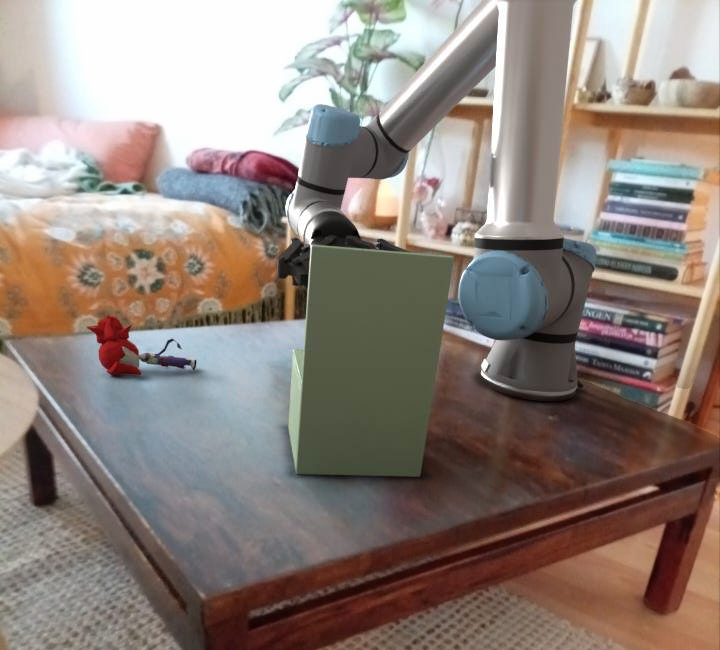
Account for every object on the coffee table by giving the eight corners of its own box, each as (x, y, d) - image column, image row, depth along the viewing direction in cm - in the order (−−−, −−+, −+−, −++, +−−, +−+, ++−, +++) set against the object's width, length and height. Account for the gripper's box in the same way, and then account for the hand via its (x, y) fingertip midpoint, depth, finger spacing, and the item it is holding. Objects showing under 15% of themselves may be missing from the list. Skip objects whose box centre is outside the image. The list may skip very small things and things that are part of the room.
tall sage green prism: (396, 431, 91) (423, 237, 80) (420, 477, 79) (454, 257, 69) (288, 427, 88) (300, 226, 77) (296, 474, 77) (311, 246, 66)
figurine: (192, 388, 105) (85, 374, 101) (198, 332, 105) (91, 316, 101) (194, 384, 99) (81, 369, 95) (200, 324, 99) (87, 307, 95)
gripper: (405, 261, 108) (458, 315, 92) (243, 262, 102) (269, 320, 85) (412, 211, 104) (469, 258, 88) (243, 208, 97) (270, 258, 81)
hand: (371, 289), depth 86 cm, fingers open, 13 cm apart
